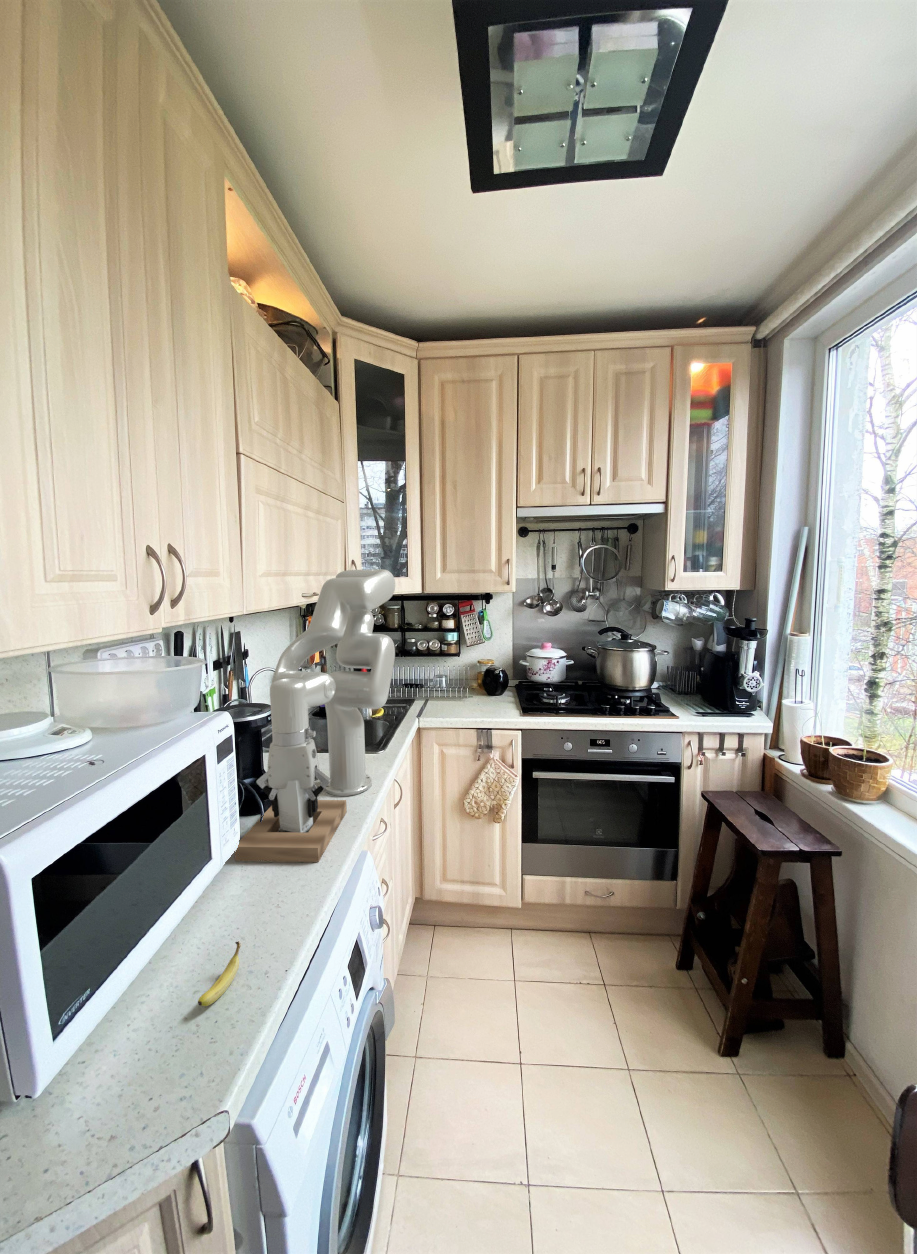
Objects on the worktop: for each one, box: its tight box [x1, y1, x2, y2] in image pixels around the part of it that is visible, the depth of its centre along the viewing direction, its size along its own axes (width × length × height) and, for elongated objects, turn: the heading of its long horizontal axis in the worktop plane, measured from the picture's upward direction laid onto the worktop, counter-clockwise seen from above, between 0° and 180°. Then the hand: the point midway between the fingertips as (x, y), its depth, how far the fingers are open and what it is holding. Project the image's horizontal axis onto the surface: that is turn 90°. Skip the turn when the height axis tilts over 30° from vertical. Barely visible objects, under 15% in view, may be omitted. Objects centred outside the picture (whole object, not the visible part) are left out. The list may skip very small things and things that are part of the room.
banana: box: [197, 940, 242, 1007], centre depth 65 cm, size 8×2×4 cm, turn 170°
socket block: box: [234, 799, 348, 863], centre depth 103 cm, size 20×17×3 cm
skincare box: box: [277, 780, 314, 833], centre depth 103 cm, size 6×4×12 cm
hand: (295, 813), depth 103 cm, fingers closed on skincare box, 7 cm apart
